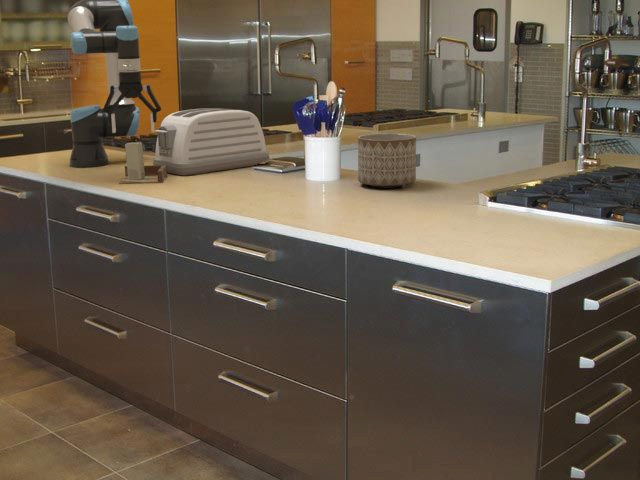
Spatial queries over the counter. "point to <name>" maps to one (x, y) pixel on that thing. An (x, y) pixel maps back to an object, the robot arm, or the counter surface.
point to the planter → (387, 159)
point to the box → (135, 160)
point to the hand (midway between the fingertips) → (133, 132)
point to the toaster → (209, 141)
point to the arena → (148, 175)
